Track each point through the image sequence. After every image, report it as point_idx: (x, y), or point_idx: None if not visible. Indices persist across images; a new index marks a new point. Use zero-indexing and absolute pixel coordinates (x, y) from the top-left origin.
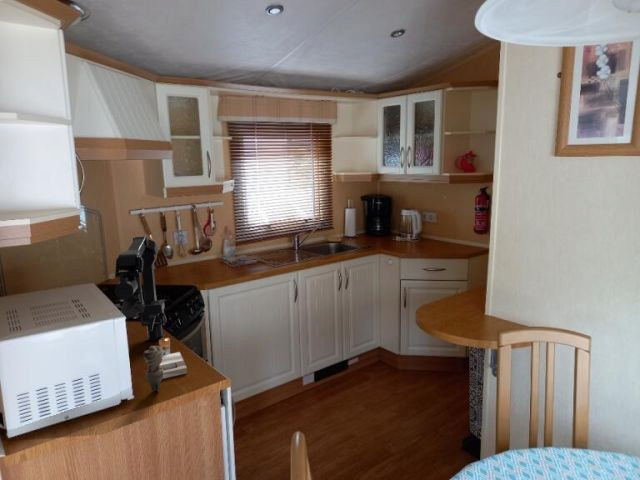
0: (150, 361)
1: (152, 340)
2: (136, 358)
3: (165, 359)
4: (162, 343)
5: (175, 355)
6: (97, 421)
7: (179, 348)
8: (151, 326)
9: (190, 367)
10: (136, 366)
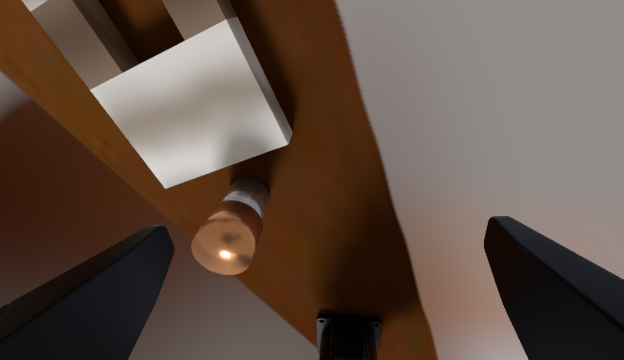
0: None
1: (352, 317)
2: (384, 191)
3: (197, 113)
4: (223, 222)
5: (165, 153)
6: None
7: None
8: (94, 262)
9: None
10: (363, 106)
